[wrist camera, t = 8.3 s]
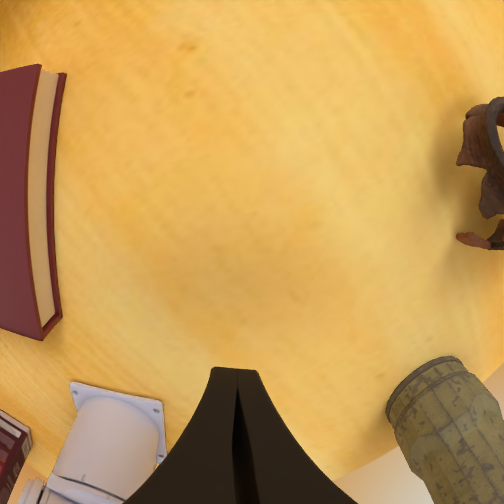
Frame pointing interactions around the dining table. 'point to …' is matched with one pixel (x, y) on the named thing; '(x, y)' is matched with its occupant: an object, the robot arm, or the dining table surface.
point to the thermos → (450, 433)
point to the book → (28, 200)
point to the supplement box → (12, 453)
